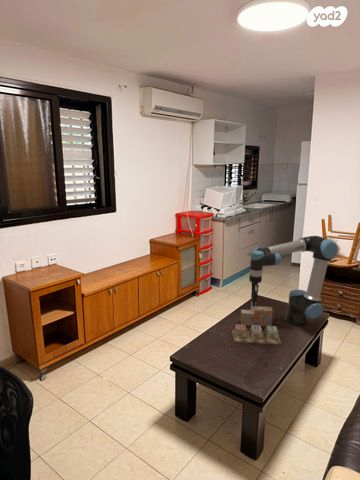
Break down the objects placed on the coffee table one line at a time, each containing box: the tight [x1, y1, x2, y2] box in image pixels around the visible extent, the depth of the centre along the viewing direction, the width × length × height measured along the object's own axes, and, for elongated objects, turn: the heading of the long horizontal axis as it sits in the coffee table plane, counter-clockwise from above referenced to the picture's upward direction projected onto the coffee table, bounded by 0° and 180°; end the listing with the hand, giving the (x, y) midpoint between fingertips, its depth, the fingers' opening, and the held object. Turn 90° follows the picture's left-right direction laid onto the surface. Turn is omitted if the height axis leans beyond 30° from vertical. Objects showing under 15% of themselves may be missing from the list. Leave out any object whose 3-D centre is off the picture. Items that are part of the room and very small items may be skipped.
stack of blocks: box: [240, 306, 274, 327], centre depth 233 cm, size 21×6×12 cm, turn 85°
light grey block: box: [265, 325, 279, 335], centre depth 213 cm, size 6×6×4 cm
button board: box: [231, 326, 282, 345], centre depth 214 cm, size 30×12×5 cm, turn 84°
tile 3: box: [235, 324, 247, 333], centre depth 215 cm, size 6×6×4 cm
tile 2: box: [250, 325, 263, 334], centre depth 214 cm, size 6×6×4 cm
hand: (253, 309), depth 210 cm, fingers closed
